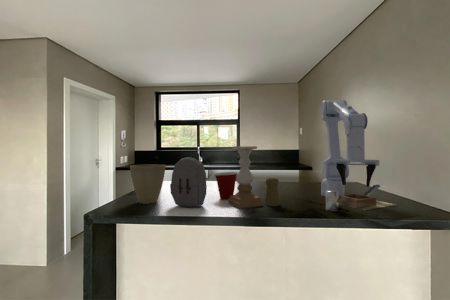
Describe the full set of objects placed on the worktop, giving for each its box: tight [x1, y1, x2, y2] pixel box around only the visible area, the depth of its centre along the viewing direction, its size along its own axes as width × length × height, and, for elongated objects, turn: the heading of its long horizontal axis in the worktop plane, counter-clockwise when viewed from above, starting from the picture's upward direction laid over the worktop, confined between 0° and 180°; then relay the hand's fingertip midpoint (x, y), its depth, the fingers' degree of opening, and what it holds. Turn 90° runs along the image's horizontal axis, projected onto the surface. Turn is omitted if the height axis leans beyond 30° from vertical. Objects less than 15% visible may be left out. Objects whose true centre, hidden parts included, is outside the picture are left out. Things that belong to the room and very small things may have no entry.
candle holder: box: [227, 145, 264, 210], centre depth 107 cm, size 11×11×24 cm
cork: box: [264, 177, 281, 207], centre depth 107 cm, size 6×6×11 cm
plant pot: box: [129, 163, 166, 205], centre depth 114 cm, size 15×15×16 cm
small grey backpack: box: [169, 156, 208, 208], centre depth 104 cm, size 15×8×20 cm, turn 72°
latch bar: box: [362, 184, 381, 197], centre depth 106 cm, size 9×3×1 cm
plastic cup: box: [213, 171, 239, 201], centre depth 119 cm, size 11×11×12 cm
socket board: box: [338, 193, 397, 211], centre depth 103 cm, size 14×18×4 cm
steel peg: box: [325, 190, 339, 212], centre depth 98 cm, size 4×4×7 cm
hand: (355, 185), depth 93 cm, fingers open, 7 cm apart
